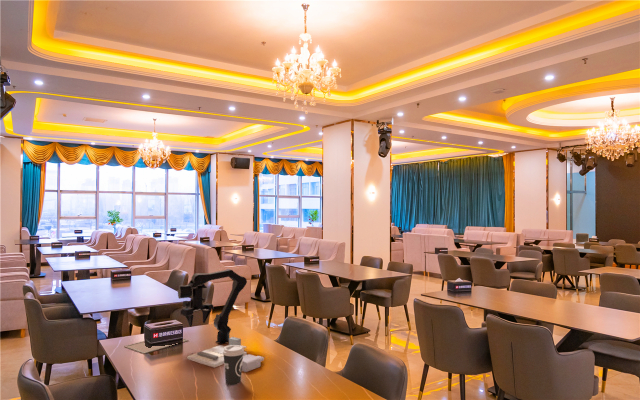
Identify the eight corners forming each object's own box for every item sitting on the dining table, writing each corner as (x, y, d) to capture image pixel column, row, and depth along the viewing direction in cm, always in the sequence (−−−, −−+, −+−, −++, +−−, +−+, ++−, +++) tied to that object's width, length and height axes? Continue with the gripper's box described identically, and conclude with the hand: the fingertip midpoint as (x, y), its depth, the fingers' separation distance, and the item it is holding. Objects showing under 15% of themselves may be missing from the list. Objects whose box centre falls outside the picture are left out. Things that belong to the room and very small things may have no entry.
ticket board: (220, 347, 236) (220, 342, 236) (246, 354, 225) (246, 348, 225) (187, 359, 218) (187, 353, 218) (214, 367, 207) (214, 361, 207)
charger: (269, 364, 213) (246, 372, 201) (256, 359, 218) (233, 368, 207) (269, 354, 213) (246, 362, 201) (256, 350, 219) (234, 358, 207)
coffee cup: (234, 376, 197) (235, 343, 197) (248, 381, 190) (248, 347, 191) (217, 382, 189) (218, 348, 189) (231, 388, 183) (231, 352, 183)
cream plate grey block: (233, 344, 238) (233, 335, 238) (246, 347, 232) (246, 338, 232) (222, 347, 231) (222, 338, 231) (235, 351, 226) (236, 342, 226)
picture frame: (144, 355, 225) (188, 341, 248) (144, 353, 225) (188, 340, 248) (124, 347, 237) (168, 336, 259) (124, 346, 237) (168, 334, 259)
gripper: (201, 292, 251) (201, 319, 251) (174, 297, 236) (173, 326, 235) (214, 294, 245) (214, 322, 244) (187, 300, 229) (187, 329, 229)
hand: (197, 324), depth 238 cm, fingers open, 9 cm apart
